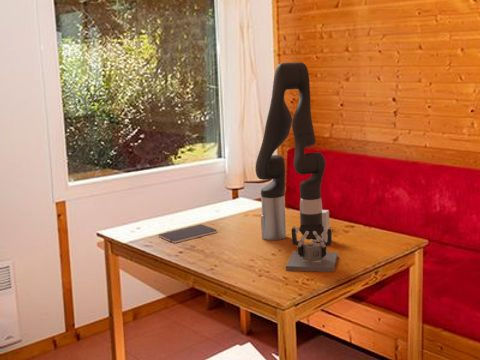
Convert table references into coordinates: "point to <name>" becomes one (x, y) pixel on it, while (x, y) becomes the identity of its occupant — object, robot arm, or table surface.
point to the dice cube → (312, 252)
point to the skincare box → (324, 224)
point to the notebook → (187, 233)
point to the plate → (312, 263)
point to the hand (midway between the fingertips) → (312, 256)
